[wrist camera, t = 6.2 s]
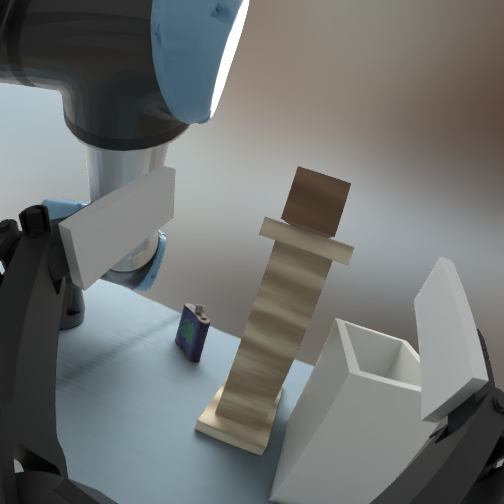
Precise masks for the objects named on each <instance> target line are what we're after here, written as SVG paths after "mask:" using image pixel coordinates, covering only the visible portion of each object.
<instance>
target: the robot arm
mask: <svg viewBox="0 0 504 504" xmlns="http://www.w3.org/2000/svg"><path fill="white" fill-rule="evenodd" d="M248 4H249V0H0V82H2V83H10V84H18V85H25V86H31V87H39V88H44V89H52V90H58V91H60V93H61V94H62V98H63V110H64V118H65V123H66V126H67V128H68V130H69V131H70V133H71V134H72V135H73V136H74V138H76V139H77V140H78V141H79V142H80V143H82V144H84V153H85V162H86V170H87V177H88V184H89V191H90V197H91V203H90V202H85V201H78V200H70V199H56V198H54V199H52V198H51V199H46V200H44V201H43V202H42V203H41V205H34V206H31V207H29V208H26V209H25V210H23V211H22V212H21V213H20V214H19V219H20V223H21V227H22V231H19V229H18V225H17V222H16V221H15V220H13V219H9V220H8V219H6V220H5V221H4V220H3V221H1V222H0V261H1V262H2V265H3V267H4V270H5V272H4V273H3V274H1V273H0V504H118V503H116V502H115V501H113V500H111V499H110V498H108V497H107V496H105V495H104V494H102V493H101V492H99V491H98V490H96V489H93V488H90V487H88V486H85V485H83V484H80V483H78V482H75V481H73V480H71V479H69V478H68V473H67V466H66V460H65V456H64V453H63V450H62V448H61V446H60V444H59V442H58V439H57V433H56V410H55V383H56V360H57V346H58V335H59V329H68V328H72V327H75V326H77V325H79V324H80V323H81V322H82V321H83V319H84V312H85V305H84V299H83V293H82V289H83V290H86V289H87V288H89V287H90V286H91V285H92V284H93V283H94V282H95V281H96V280H98V279H102V280H106V281H109V282H112V283H115V284H119V285H122V286H125V287H129V288H131V289H132V290H141V291H146V290H148V289H150V288H151V287H152V285H153V283H154V281H155V279H156V274H157V273H158V271H159V268H160V265H161V262H162V259H163V255H164V252H165V247H166V242H167V241H166V240H167V238H166V235H165V234H164V233H163V232H161V231H160V230H158V229H159V228H160V227H161V226H163V225H164V224H165V223H167V222H168V221H169V220H171V219H172V218H173V213H174V211H173V210H174V186H175V169H173V168H169V167H164V166H163V165H164V161H165V157H166V153H167V148H168V144H169V143H171V142H172V141H174V140H176V139H177V138H179V137H180V136H181V135H182V134H183V133H184V132H185V131H186V130H187V129H188V128H189V126H190V125H191V124H193V123H199V124H203V123H206V122H208V121H209V120H210V119H211V117H212V116H213V114H214V111H215V109H216V107H217V104H218V101H219V98H220V96H221V93H222V90H223V87H224V84H225V81H226V77H227V74H228V71H229V68H230V64H231V62H232V59H233V56H234V53H235V50H236V47H237V44H238V40H239V37H240V34H241V31H242V27H243V24H244V20H245V16H246V13H247V9H248ZM414 306H415V314H416V322H417V331H418V342H419V354H420V371H421V421H427V422H433V423H438V422H439V421H440V420H442V419H443V418H444V417H446V416H447V415H448V424H446V425H445V426H444V427H442V428H441V429H439V430H438V431H436V432H435V433H433V434H432V435H430V436H429V438H432V437H433V436H435V437H434V439H433V440H432V441H431V442H430V443H429V444H428V446H427V447H426V448H425V449H424V450H423V451H422V453H421V454H420V455H419V456H418V457H417V458H416V459H415V460H414V461H413V462H412V464H411V465H410V466H409V467H408V468H407V469H406V470H405V471H404V472H403V473H402V474H401V475H400V476H399V477H398V478H397V479H396V480H395V481H394V482H393V483H392V484H391V485H390V486H388V487H387V488H386V489H385V490H384V491H383V492H382V493H381V494H380V495H379V496H377V497H376V498H375V499H374V500H373V501H372V502H370V503H369V504H504V462H503V464H502V466H500V467H498V468H496V466H497V462H498V461H500V460H502V459H504V393H503V392H502V391H501V390H500V389H497V388H495V383H494V378H493V373H492V368H491V364H490V361H489V356H488V352H487V348H486V344H485V340H484V338H483V336H482V335H481V333H480V331H479V329H476V326H475V323H474V319H473V316H472V313H471V310H470V307H469V304H468V301H467V298H466V295H465V292H464V289H463V287H462V284H461V281H460V279H459V276H458V274H457V271H456V269H455V266H454V264H453V261H450V260H448V259H446V258H443V257H441V256H440V257H439V259H438V261H437V263H436V265H435V266H434V268H433V270H432V272H431V273H430V275H429V277H428V278H427V280H426V282H425V284H424V285H423V287H422V288H421V290H420V291H419V293H418V295H417V296H416V298H415V299H414ZM14 459H16V460H17V461H19V462H20V463H21V465H22V467H23V470H24V472H19V473H15V470H14Z"/></svg>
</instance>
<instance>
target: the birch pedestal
mask: <svg viewBox="0 0 504 504" xmlns="http://www.w3.org/2000/svg"><path fill="white" fill-rule="evenodd" d="M259 235H262V236H265V237H268V238H271V239H274V240H275V244H274V246H273V249H272V252H271V255H270V258H269V261H268V264H267V267H266V270H265V273H264V276H263V279H262V282H261V285H260V288H259V291H258V294H257V297H256V299H255V302H254V305H253V308H252V311H251V314H250V317H249V319H248V322H247V325H246V328H245V331H244V334H243V337H242V339H241V342H240V345H239V348H238V351H237V353H236V356H235V359H234V362H233V365H232V367H231V370H230V373H229V376H228V377H227V379H226V380H225V381H224V383H223V384H222V386H221V387H220V389H219V390H218V392H217V393H216V395H215V396H214V397H213V399H212V400H211V402H210V403H209V405H208V406H207V407H206V409H205V410H204V412H203V413H202V415H201V416H200V417H199V419H198V420H197V423H196V426H195V430H198V431H200V432H202V433H204V434H207V435H209V436H211V437H214V438H216V439H218V440H221V441H223V442H226V443H228V444H231V445H233V446H236V447H238V448H241V449H244V450H247V451H249V452H252V453H255V454H258V455H261V456H262V454H263V452H264V450H265V449H266V447H267V443H268V440H269V436H270V433H271V429H272V426H273V422H274V419H275V415H276V411H277V407H278V404H279V400H280V396H281V392H282V388H283V384H284V381H285V378H286V376H287V374H288V372H289V369H290V367H291V365H292V363H293V360H294V358H295V356H296V353H297V351H298V349H299V346H300V344H301V342H302V339H303V337H304V334H305V332H306V329H307V327H308V324H309V322H310V319H311V317H312V314H313V312H314V309H315V307H316V304H317V301H318V299H319V296H320V294H321V291H322V288H323V285H324V283H325V280H326V277H327V274H328V272H329V269H330V266H331V263H332V260H334V261H337V262H340V263H343V264H345V265H348V264H349V261H350V258H351V255H352V252H353V249H354V247H352V246H349V245H346V244H343V243H341V242H338V241H335V240H332V239H329V238H326V237H324V236H321V235H318V234H315V233H312V232H309V231H306V230H303V229H300V228H297V227H294V226H291V225H288V224H285V223H282V222H279V221H276V220H273V219H270V218H267V217H265V218H264V221H263V224H262V227H261V230H260V233H259Z"/></svg>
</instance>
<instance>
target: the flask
mask: <svg viewBox="0 0 504 504" xmlns="http://www.w3.org/2000/svg"><path fill="white" fill-rule="evenodd" d="M195 306H196V307H195ZM195 306H193V305H191V304H185V305H184V308H183V312H182V316H181V320H180V324H179V327H178V331H177V334H176V338H175V341H176V344H178V345H179V347H180V349H181V350H182V351H184V352H185V353H184V354H186V355H187V356H186V357H188V359H189V360H190V361H192V362H193V363H194V362H195V363H198V362H199V361H200V357H201V353H202V350H203V346H204V342H205V339H206V336H207V332H208V328H209V326H210V321H209V320H208V318H207V317H206V316H205V315H204V311H203V310H202V308H203V306H204V305H202V306H201V305H197V304H195ZM204 307H205V306H204Z"/></svg>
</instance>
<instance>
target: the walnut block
mask: <svg viewBox="0 0 504 504" xmlns="http://www.w3.org/2000/svg"><path fill="white" fill-rule="evenodd" d="M350 185H351V183H348V182H345V181H342V180H339V179H336V178H333V177H330V176H327V175H324V174H321V173H318V172H315V171H312V170H308V169H305V168H302V167H298V168H297V171H296V174H295V177H294V180H293V183H292V186H291V190H290V193H289V196H288V199H287V202H286V205H285V208H284V211H283V214H282V217H281V219H282V220H284V221H285V222H287V223H288V224H290V225H292V226H294V227H297V228H300V229H303V230H306V231H309V232H312V233H315V234H318V235H321V236H324V237H326V238H330V237H335V234H336V231H337V228H338V225H339V221H340V218H341V215H342V212H343V208H344V205H345V202H346V199H347V195H348V192H349V189H350Z"/></svg>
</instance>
